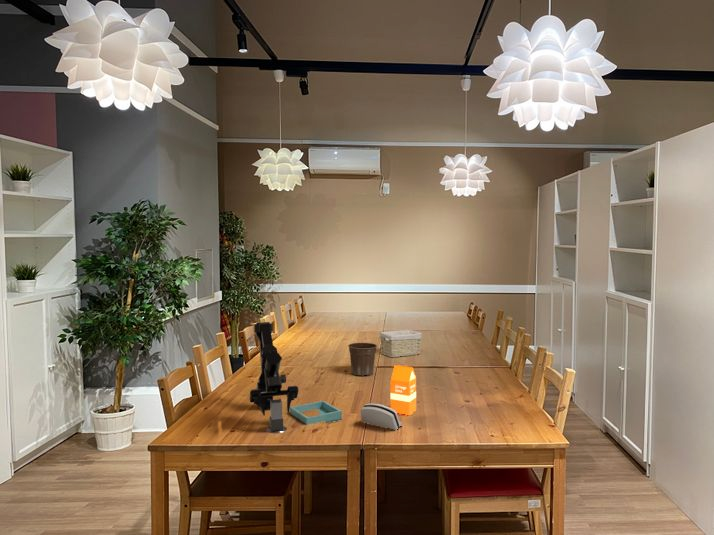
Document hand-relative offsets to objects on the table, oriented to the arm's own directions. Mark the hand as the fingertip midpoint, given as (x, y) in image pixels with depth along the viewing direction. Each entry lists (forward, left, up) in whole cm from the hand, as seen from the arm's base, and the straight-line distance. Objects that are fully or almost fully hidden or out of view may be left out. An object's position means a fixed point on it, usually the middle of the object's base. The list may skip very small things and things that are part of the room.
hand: (276, 413), depth 190 cm
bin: (-6, +20, -8) cm, 22 cm away
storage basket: (-82, +122, -8) cm, 147 cm away
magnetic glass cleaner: (+15, +38, -8) cm, 42 cm away
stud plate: (0, 0, -8) cm, 8 cm away
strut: (0, 0, -6) cm, 6 cm away
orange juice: (+7, +56, -8) cm, 57 cm away
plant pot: (-55, +75, -8) cm, 94 cm away
